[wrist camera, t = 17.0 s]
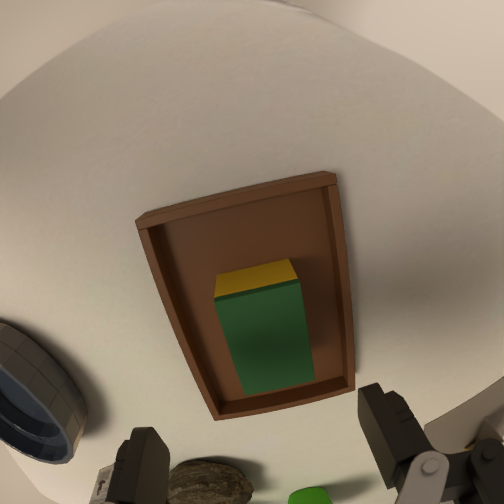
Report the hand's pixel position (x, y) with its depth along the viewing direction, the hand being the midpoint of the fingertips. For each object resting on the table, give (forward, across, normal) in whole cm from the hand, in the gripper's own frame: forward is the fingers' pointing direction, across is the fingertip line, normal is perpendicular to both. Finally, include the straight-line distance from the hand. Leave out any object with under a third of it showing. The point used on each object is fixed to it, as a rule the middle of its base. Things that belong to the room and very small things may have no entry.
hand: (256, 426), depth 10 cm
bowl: (+11, +24, +5) cm, 27 cm away
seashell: (+11, +9, +20) cm, 24 cm away
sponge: (+10, -1, +1) cm, 10 cm away
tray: (+11, -1, +1) cm, 11 cm away
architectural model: (+10, -28, +34) cm, 45 cm away
